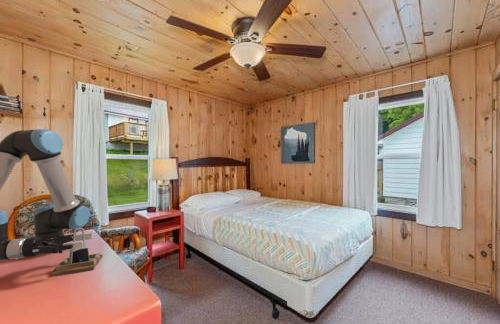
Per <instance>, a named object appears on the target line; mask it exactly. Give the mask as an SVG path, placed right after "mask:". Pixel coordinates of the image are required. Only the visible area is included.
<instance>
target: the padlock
mask: <svg viewBox="0 0 500 324" xmlns="http://www.w3.org/2000/svg"><path fill="white" fill-rule="evenodd" d="M78 230H81V232H82V233H81V234H82V235H83V240H82V241H83V248H80V249H73V250H69V257H68V258H69V264H73V263H80V262H86V261H90V259H89V255H90V250H89V247H88V246H86V242H85V241H86V240H85V237H84V234H85V229H84V228H83V227H81V228H76V229H73V233H72V234H73V237H72V238H73V241H72V242H76V241H75V233H77V231H78Z"/></svg>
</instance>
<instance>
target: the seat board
mask: <svg viewBox="0 0 500 324" xmlns="http://www.w3.org/2000/svg"><path fill="white" fill-rule="evenodd" d="M102 258H103V253H102V254H101V253H100V252H99V253H93V254H89V259H90V261H86V262H80V263H73V264H69V257H65V258H63V260H62V261H61V262H60V263H58V265H56V266H55V270H54V271H52V272H51V278H52V277H53V278H54V277H57V276H62V275H63V276H64V275H65V276H66V275H71V274H76V273H82V272H87V271H88V272H89V271H93V270H95V268H96V267H97V265H98V264H99V263H100V261H101V260H102Z"/></svg>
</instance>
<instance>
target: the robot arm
mask: <svg viewBox="0 0 500 324" xmlns="http://www.w3.org/2000/svg"><path fill="white" fill-rule="evenodd" d="M63 146H64V142H63V139H62V137H61V136H60V135H59V134H58V132H55V131H54V130H51V129H46V128H45V129H42V128H37V129H26V130H25V129H23V130H17V131H14V132H10V133H9V134H8V135H6V136H5V137H4V138H3V139H2V140H0V192H1V191H2V189H3V187H4V185H5V184H6V182H7V181H8V178H9V177H10V175H11V173H12V172H13V170H14V167H15V166H16V164H17V163H20V162H22V159H23V158H24V157H25V156H28V159H29V161H30V162H32V163H35V164H36V166H37V168H38V170H39V173H40V175H41V176H42V177H41V178H42V179H43V182H44V183H45V186H46V188H47V190H48V192H49V194H50V197H51V199H52V201H53V204H52V205H46V206H42V207H40V206H39V207H37V208H35V209H34V212H33V213H34V214H33V219H34V221H33V222H34V228H33V229H34V236H31V237H22V238H15V239H9V235H8V229H9V218H8V212H7V210H4V209H3V210H1V209H0V262H1V261H7V260H8V261H9V260H13V259H15V261H18V260H19V259H21V258H31V257H32V258H33V257H36V256H38V255H39V254H63V251H70V250H73V249H80V248H83V235H82V233H78V234H77V232H75V242H73V233H72V234H66V235H65V233H64V230H68V229H69V230H75V229H77V228H83V227H84V226H85V225H86V224H87V223H88V222H89V219H90V216H91V212H90V209H89V207H87V206H83V205H82V203H81V200H79V199H76V197H75V195H74V193H73V189H72V188H71V185H70V183H69V180H68V178H67V175H66V172H65V171H64V168H63V165H62V163H61V161H60V160H61V159H60V157H61V155H62V153H61V151H62V150H63ZM84 237H85V241H86V240H93V237H94V235H93V232H87V233H84Z"/></svg>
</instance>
